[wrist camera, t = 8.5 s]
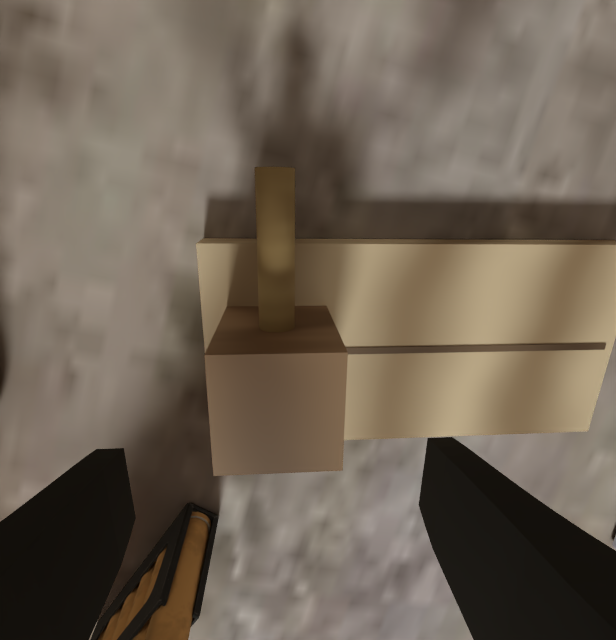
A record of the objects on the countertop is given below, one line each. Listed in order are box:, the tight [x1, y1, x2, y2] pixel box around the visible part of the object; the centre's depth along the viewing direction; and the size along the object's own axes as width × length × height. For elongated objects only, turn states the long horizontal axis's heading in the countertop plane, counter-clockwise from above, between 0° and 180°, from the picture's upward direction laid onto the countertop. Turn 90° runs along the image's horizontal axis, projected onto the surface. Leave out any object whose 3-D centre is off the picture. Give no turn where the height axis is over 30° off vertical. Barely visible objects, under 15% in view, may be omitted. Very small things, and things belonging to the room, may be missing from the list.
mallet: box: [204, 167, 348, 476], centre depth 13 cm, size 4×9×5 cm, turn 179°
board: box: [196, 238, 616, 440], centre depth 17 cm, size 18×9×2 cm, turn 89°
